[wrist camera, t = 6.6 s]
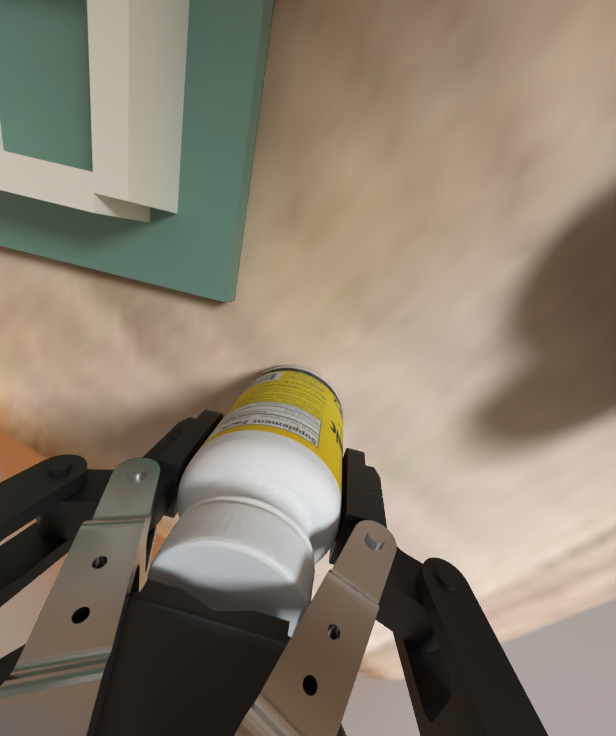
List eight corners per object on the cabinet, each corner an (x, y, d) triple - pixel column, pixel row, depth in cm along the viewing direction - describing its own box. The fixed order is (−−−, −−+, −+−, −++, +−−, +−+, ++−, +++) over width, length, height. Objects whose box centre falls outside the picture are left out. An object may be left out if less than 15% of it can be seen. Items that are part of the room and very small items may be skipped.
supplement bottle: (327, 464, 17) (300, 701, 8) (236, 435, 17) (108, 635, 8) (359, 381, 15) (373, 568, 6) (256, 348, 15) (118, 483, 6)
